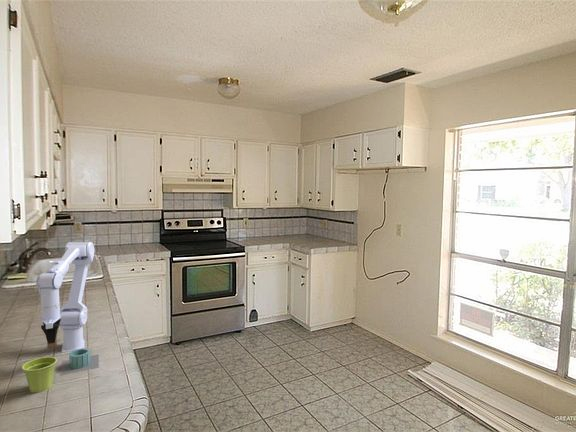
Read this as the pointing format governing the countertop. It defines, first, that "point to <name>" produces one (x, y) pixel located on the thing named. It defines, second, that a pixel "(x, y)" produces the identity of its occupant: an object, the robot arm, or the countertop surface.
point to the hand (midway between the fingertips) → (52, 341)
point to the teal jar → (80, 358)
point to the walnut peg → (52, 343)
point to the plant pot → (40, 373)
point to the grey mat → (68, 370)
